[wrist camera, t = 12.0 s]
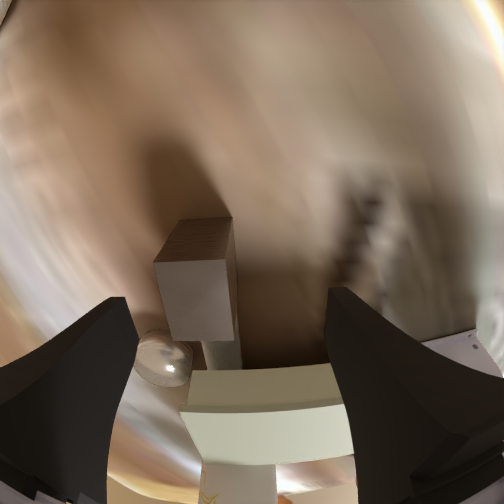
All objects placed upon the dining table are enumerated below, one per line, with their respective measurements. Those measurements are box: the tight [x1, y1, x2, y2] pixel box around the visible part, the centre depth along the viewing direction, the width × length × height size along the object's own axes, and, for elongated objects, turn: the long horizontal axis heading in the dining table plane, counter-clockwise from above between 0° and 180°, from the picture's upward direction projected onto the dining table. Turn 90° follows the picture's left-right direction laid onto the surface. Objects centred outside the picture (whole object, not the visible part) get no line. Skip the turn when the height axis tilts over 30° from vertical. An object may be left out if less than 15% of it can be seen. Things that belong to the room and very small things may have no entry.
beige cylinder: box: [198, 459, 278, 504], centre depth 25 cm, size 8×8×12 cm
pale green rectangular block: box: [179, 363, 354, 465], centre depth 21 cm, size 17×10×8 cm, turn 93°
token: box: [133, 330, 194, 387], centre depth 23 cm, size 5×5×2 cm
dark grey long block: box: [153, 217, 243, 370], centre depth 19 cm, size 4×16×6 cm, turn 3°
